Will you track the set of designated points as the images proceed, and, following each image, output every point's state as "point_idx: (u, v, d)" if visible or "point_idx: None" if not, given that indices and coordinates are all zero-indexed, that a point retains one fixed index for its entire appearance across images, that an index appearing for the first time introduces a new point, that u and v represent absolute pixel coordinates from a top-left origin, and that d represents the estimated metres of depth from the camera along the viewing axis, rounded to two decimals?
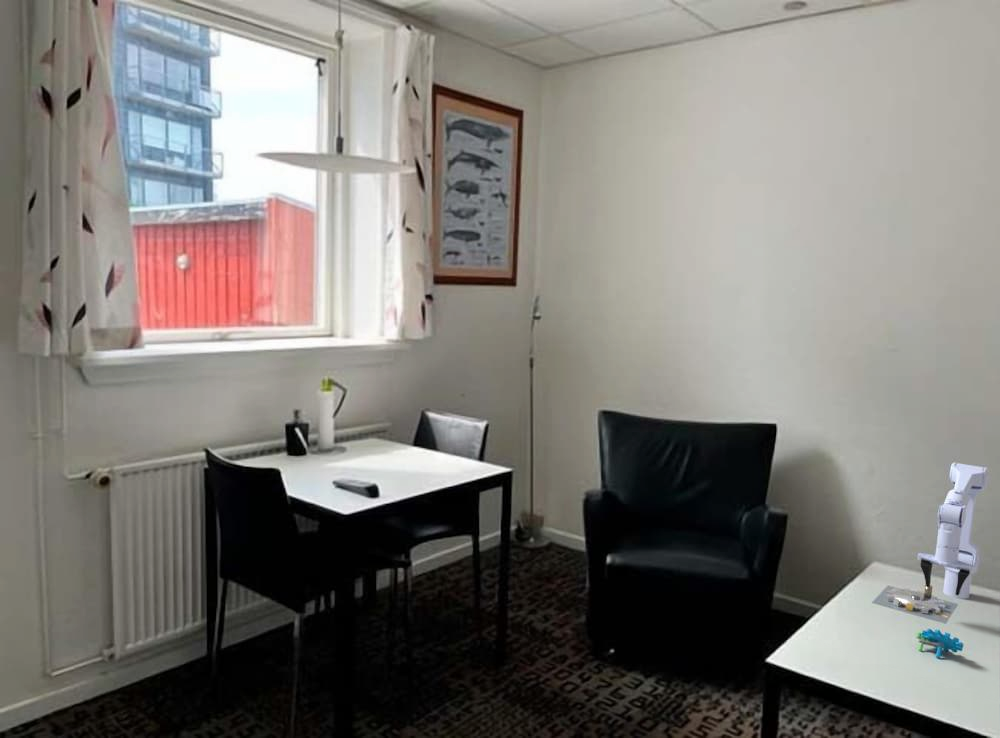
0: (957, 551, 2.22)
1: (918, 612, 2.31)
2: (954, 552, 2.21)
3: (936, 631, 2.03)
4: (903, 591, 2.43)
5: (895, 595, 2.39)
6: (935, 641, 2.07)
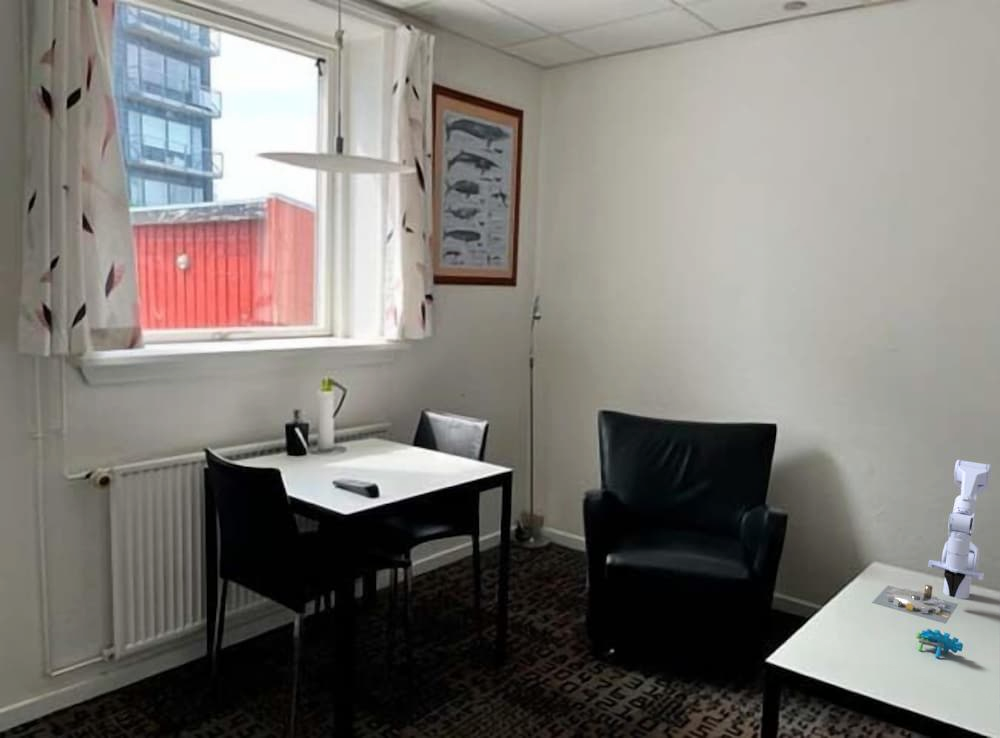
0: (967, 558, 2.31)
1: (918, 612, 2.31)
2: (963, 559, 2.31)
3: (935, 631, 2.03)
4: (903, 591, 2.43)
5: (895, 595, 2.39)
6: (935, 641, 2.07)
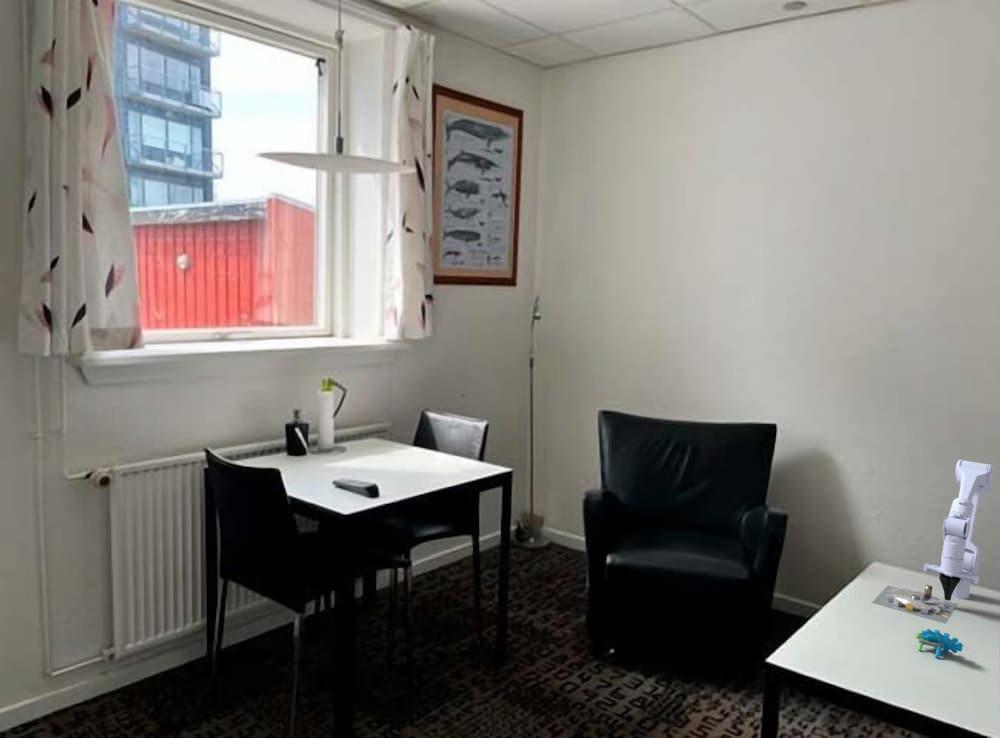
0: (962, 562, 2.32)
1: (918, 612, 2.31)
2: (958, 563, 2.32)
3: (935, 631, 2.03)
4: (903, 591, 2.43)
5: (895, 595, 2.39)
6: (935, 641, 2.07)
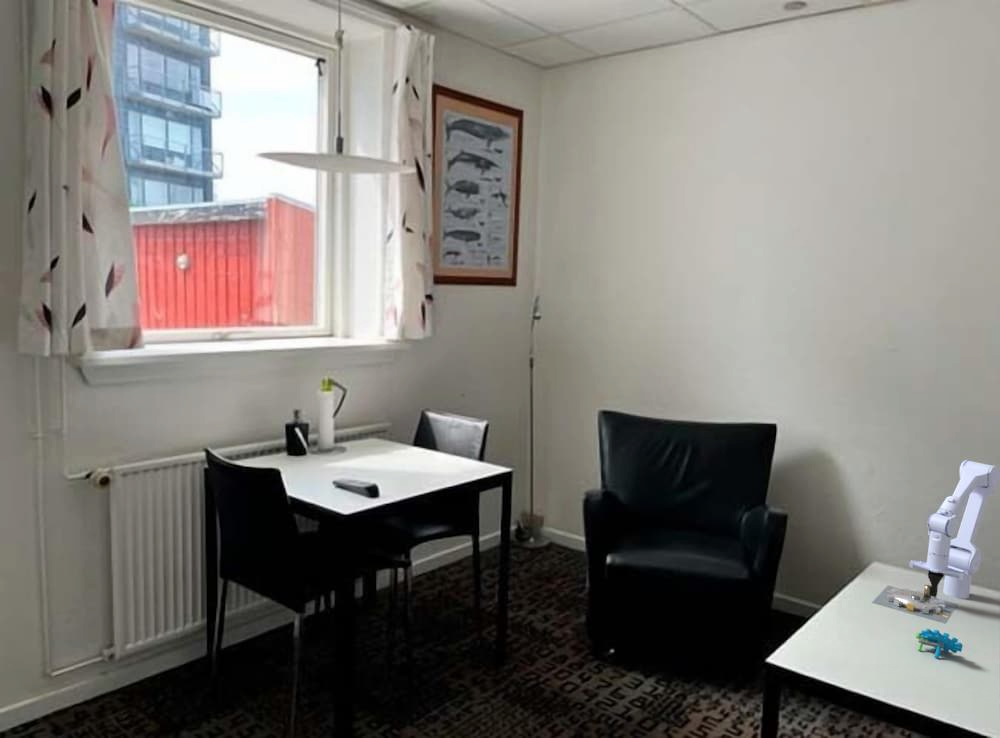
0: (947, 559, 2.35)
1: (918, 612, 2.31)
2: (944, 559, 2.34)
3: (935, 631, 2.03)
4: (903, 591, 2.43)
5: (895, 595, 2.39)
6: (934, 641, 2.07)
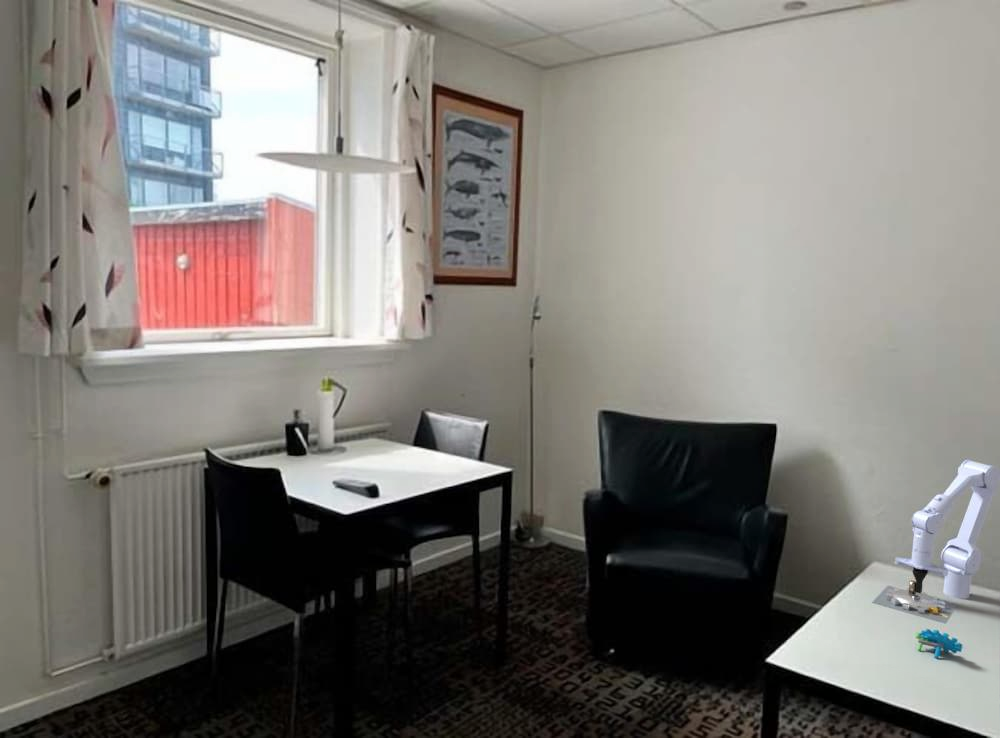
0: (931, 555, 2.38)
1: (918, 612, 2.31)
2: (928, 556, 2.37)
3: (934, 631, 2.03)
4: (896, 594, 2.40)
5: (906, 602, 2.34)
6: (934, 641, 2.07)
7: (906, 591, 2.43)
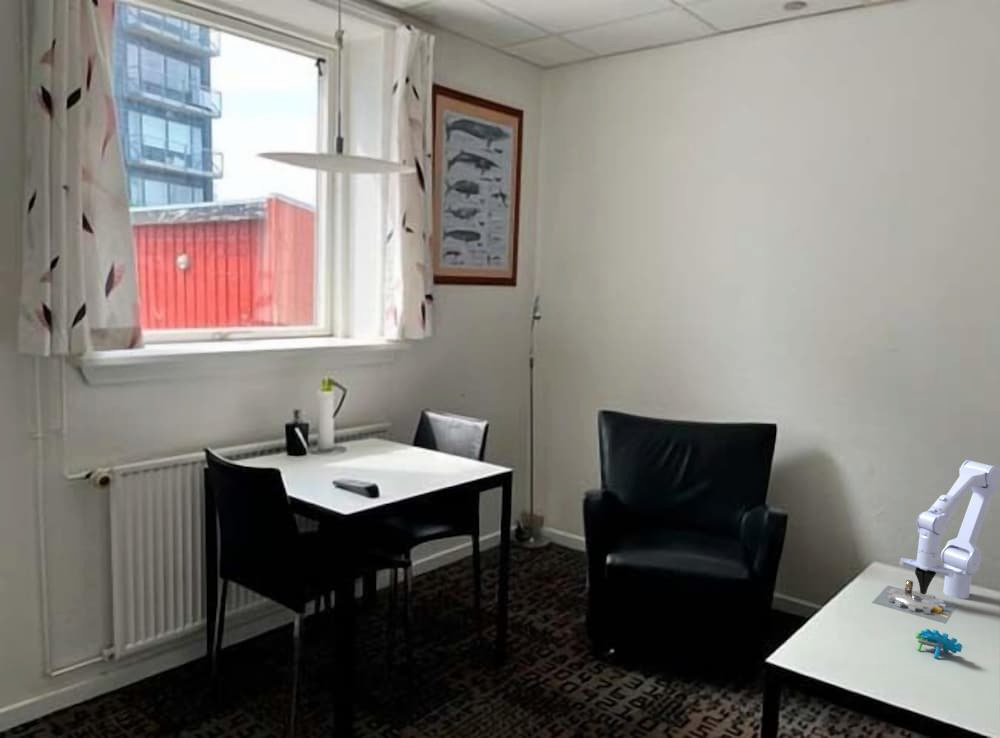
0: (936, 556, 2.37)
1: (918, 612, 2.31)
2: (933, 557, 2.36)
3: (934, 631, 2.03)
4: (896, 595, 2.39)
5: (911, 603, 2.33)
6: (934, 641, 2.07)
7: (903, 591, 2.43)
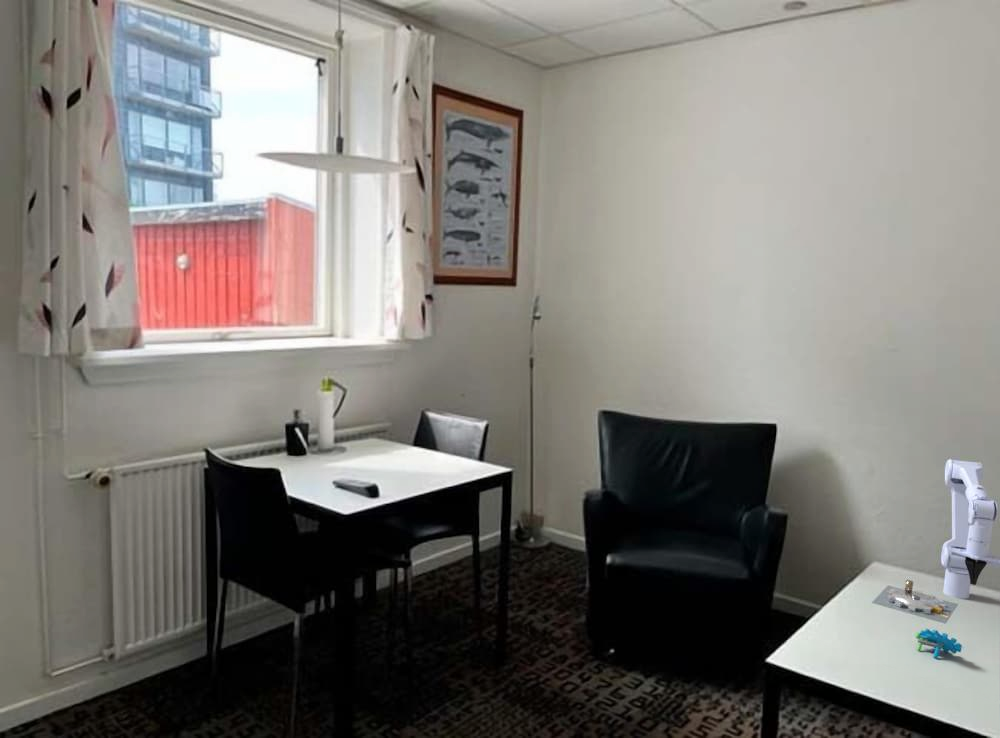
0: (988, 545, 2.27)
1: (918, 612, 2.31)
2: (985, 546, 2.27)
3: (933, 631, 2.03)
4: (896, 595, 2.39)
5: (911, 603, 2.33)
6: (934, 641, 2.07)
7: (903, 591, 2.43)
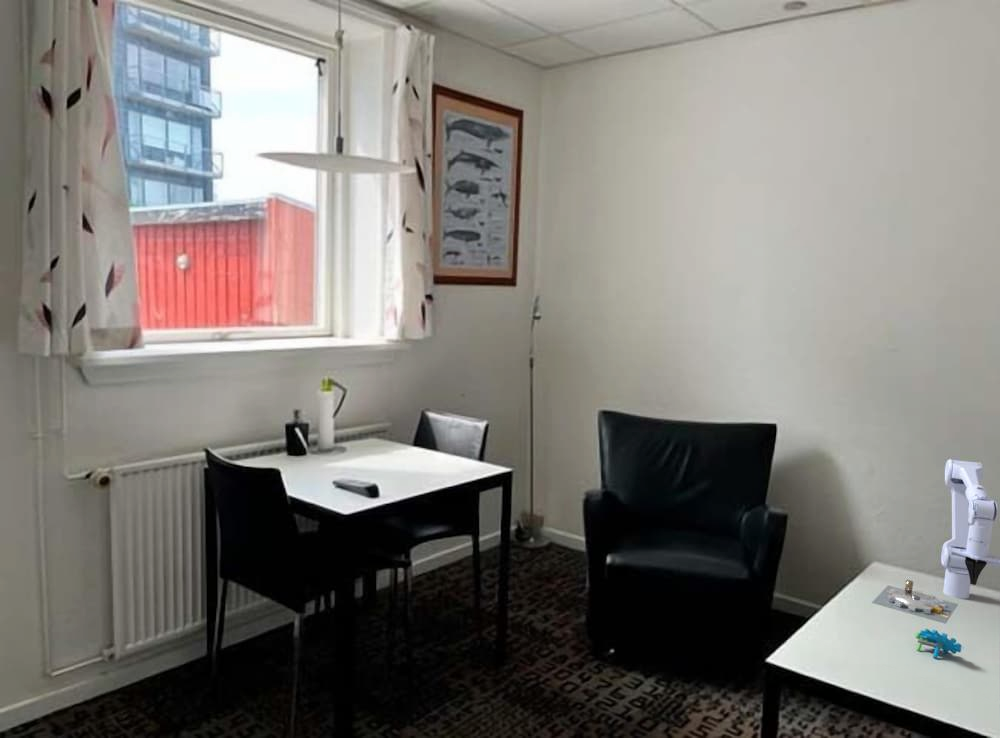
0: (988, 545, 2.27)
1: (918, 612, 2.31)
2: (985, 546, 2.27)
3: (933, 631, 2.03)
4: (896, 595, 2.39)
5: (911, 603, 2.33)
6: (934, 641, 2.07)
7: (903, 591, 2.43)
